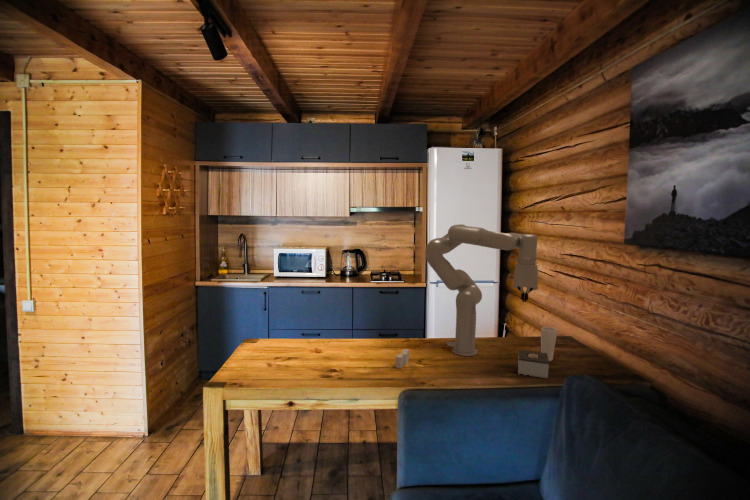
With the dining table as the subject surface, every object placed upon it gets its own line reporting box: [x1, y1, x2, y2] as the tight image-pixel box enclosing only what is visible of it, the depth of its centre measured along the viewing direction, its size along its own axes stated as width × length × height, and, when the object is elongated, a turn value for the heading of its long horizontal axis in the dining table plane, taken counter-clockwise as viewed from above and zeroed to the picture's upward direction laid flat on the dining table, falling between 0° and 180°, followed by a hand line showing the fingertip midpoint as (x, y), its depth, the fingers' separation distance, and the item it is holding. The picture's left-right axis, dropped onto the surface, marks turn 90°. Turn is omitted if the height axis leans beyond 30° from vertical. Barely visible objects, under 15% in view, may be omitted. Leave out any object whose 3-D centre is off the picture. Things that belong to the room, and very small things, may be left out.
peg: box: [528, 354, 538, 358], centre depth 184 cm, size 4×4×6 cm
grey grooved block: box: [395, 348, 410, 369], centre depth 189 cm, size 15×11×6 cm
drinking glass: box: [540, 326, 558, 362], centre depth 198 cm, size 7×7×15 cm
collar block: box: [517, 349, 550, 379], centre depth 184 cm, size 12×12×7 cm
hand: (524, 301), depth 191 cm, fingers closed
